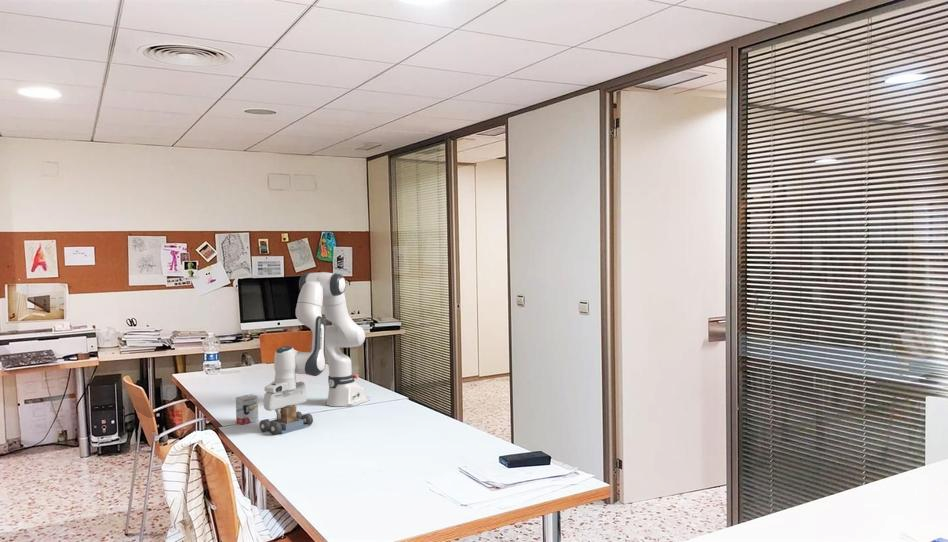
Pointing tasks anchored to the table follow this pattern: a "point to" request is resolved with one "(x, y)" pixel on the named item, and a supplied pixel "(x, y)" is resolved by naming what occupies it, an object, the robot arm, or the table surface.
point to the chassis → (284, 428)
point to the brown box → (288, 414)
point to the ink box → (246, 409)
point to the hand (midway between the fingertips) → (286, 416)
